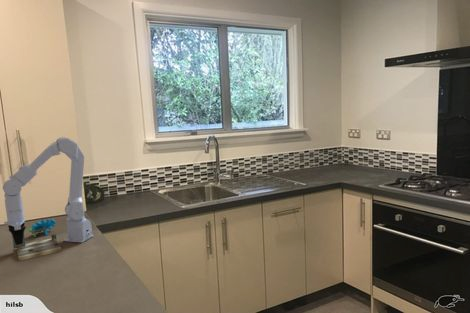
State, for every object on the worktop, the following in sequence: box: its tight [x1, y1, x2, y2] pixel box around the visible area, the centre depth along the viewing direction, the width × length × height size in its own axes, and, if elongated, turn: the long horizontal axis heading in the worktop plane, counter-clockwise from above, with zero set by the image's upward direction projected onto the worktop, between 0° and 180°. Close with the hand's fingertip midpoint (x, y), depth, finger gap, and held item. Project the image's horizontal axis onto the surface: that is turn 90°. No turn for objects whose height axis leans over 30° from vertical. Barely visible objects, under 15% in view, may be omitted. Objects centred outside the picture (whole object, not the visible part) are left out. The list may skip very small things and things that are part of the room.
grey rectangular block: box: [11, 233, 26, 251], centre depth 140 cm, size 4×7×6 cm, turn 34°
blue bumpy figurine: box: [28, 218, 57, 238], centre depth 161 cm, size 11×6×10 cm
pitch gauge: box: [16, 233, 62, 262], centre depth 143 cm, size 14×15×4 cm
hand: (18, 242), depth 142 cm, fingers closed on grey rectangular block, 3 cm apart
